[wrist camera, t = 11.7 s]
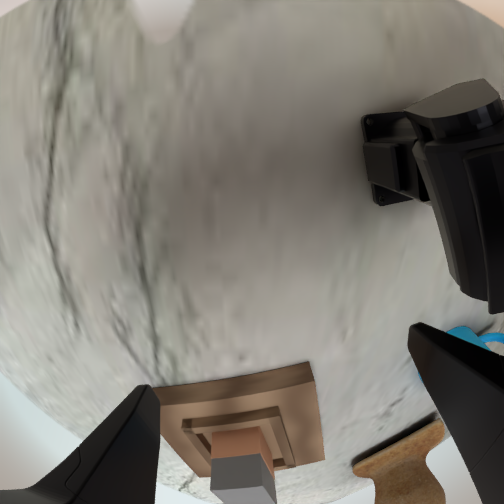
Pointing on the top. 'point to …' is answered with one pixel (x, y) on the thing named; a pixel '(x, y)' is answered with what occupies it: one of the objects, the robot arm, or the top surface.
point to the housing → (242, 467)
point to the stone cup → (405, 469)
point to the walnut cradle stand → (245, 416)
